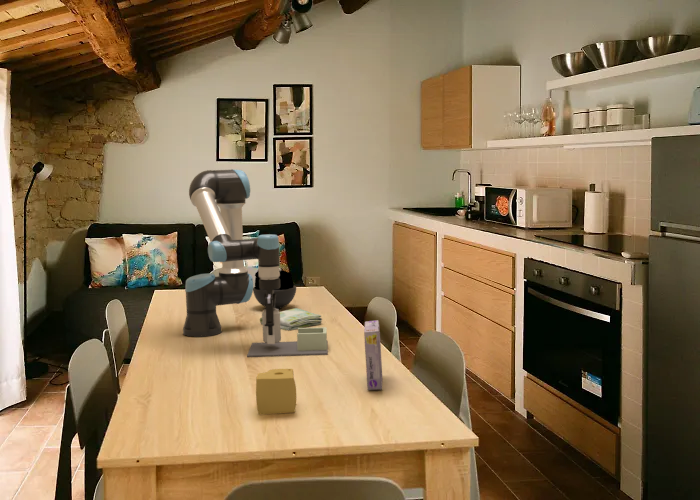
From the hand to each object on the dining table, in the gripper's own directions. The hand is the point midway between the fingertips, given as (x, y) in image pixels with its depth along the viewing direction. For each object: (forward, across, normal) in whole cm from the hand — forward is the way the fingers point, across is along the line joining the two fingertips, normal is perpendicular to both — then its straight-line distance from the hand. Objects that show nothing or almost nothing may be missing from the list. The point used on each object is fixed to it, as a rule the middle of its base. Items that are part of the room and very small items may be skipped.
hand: (271, 341), depth 287 cm
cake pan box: (+3, -47, -34) cm, 58 cm away
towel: (+4, +46, -5) cm, 46 cm away
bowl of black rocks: (+3, +83, +4) cm, 83 cm away
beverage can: (+1, 0, 0) cm, 1 cm away
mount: (+3, 0, -6) cm, 7 cm away
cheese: (+4, -70, -6) cm, 70 cm away
